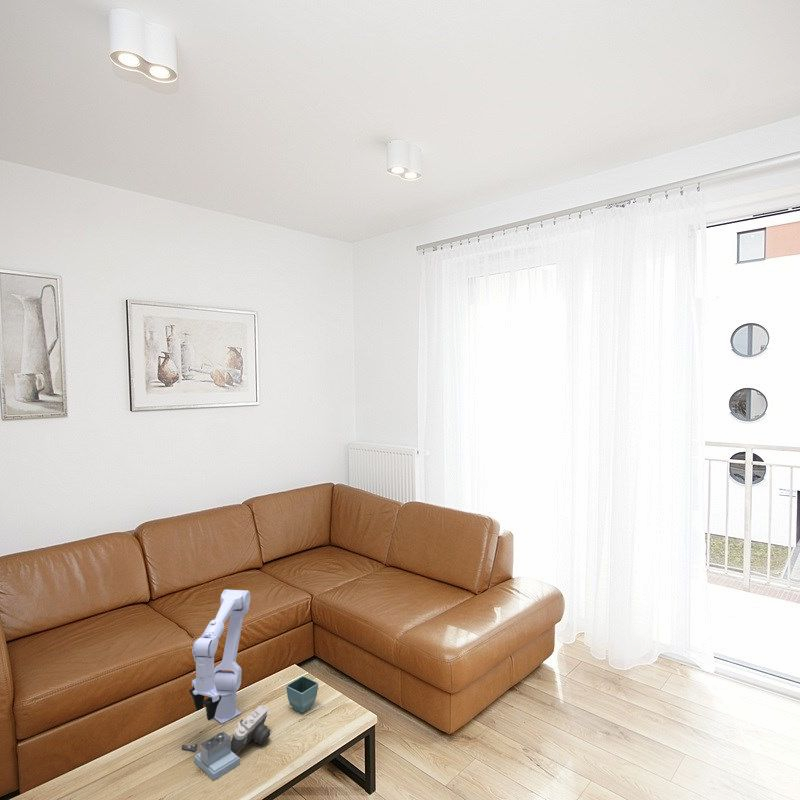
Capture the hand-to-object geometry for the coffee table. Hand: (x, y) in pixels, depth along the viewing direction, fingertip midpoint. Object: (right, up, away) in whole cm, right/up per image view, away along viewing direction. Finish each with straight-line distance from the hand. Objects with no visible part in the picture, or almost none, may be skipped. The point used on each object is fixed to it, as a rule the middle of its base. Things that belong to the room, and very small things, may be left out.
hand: (205, 713), depth 172 cm
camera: (+16, -11, +1) cm, 19 cm away
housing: (+7, -8, -9) cm, 14 cm away
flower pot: (+29, -10, +20) cm, 37 cm away
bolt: (-5, -10, -2) cm, 12 cm away
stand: (+7, -11, -8) cm, 15 cm away
